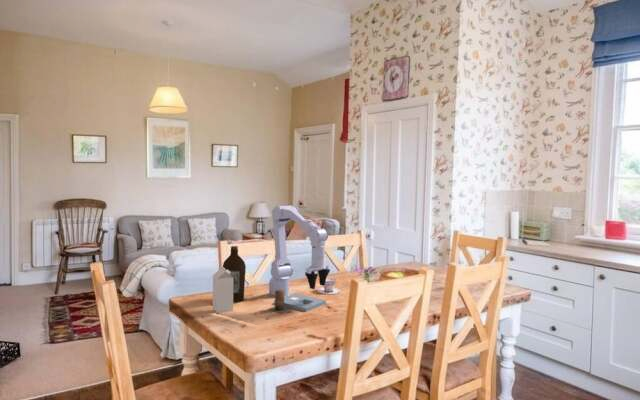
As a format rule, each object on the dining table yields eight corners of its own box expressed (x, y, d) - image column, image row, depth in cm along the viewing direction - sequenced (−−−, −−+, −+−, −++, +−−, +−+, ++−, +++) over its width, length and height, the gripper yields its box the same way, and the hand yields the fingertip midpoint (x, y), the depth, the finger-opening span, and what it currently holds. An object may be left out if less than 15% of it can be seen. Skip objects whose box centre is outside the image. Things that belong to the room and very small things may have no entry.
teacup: (344, 291, 226) (345, 279, 225) (332, 296, 216) (333, 283, 215) (324, 287, 232) (325, 275, 232) (312, 292, 222) (312, 280, 222)
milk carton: (216, 314, 183) (216, 269, 182) (212, 309, 190) (212, 266, 188) (233, 312, 187) (233, 268, 185) (228, 307, 193) (228, 265, 192)
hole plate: (274, 305, 197) (274, 300, 197) (294, 298, 209) (294, 292, 209) (306, 314, 187) (306, 307, 187) (326, 305, 199) (326, 299, 199)
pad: (266, 311, 188) (266, 309, 188) (278, 307, 195) (278, 305, 195) (280, 315, 184) (280, 313, 184) (292, 311, 190) (292, 308, 190)
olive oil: (225, 295, 211) (226, 244, 210) (247, 296, 210) (248, 245, 209) (219, 302, 201) (219, 248, 199) (242, 303, 200) (242, 248, 198)
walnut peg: (272, 309, 189) (273, 291, 188) (278, 307, 192) (279, 289, 192) (280, 311, 187) (280, 292, 186) (286, 309, 190) (286, 290, 189)
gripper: (316, 260, 185) (315, 291, 186) (334, 255, 197) (333, 285, 198) (302, 257, 189) (301, 289, 190) (321, 253, 201) (320, 282, 202)
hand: (317, 286), depth 194 cm, fingers open, 7 cm apart
